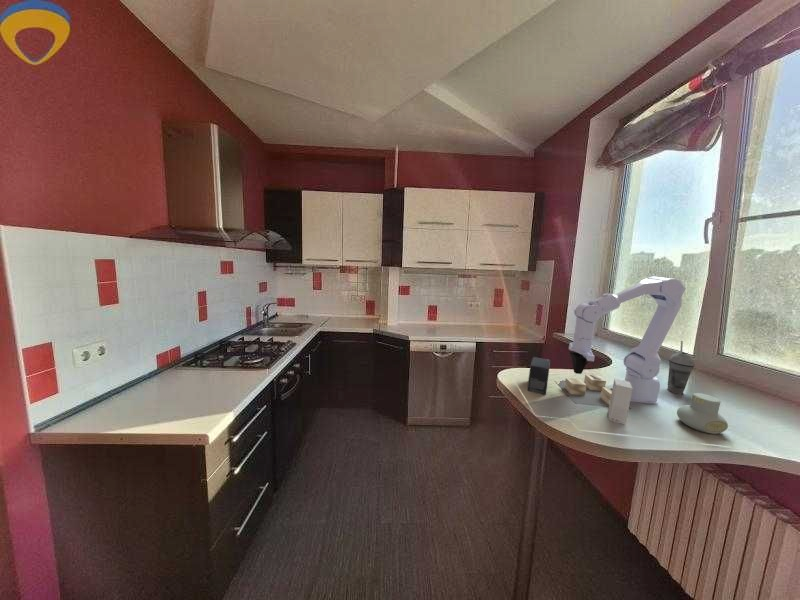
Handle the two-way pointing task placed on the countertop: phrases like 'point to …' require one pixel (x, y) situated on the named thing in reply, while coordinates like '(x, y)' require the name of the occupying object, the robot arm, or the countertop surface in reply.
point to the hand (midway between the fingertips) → (577, 373)
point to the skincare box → (620, 401)
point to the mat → (585, 396)
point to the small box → (538, 375)
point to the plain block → (575, 386)
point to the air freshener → (703, 414)
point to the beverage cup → (679, 371)
